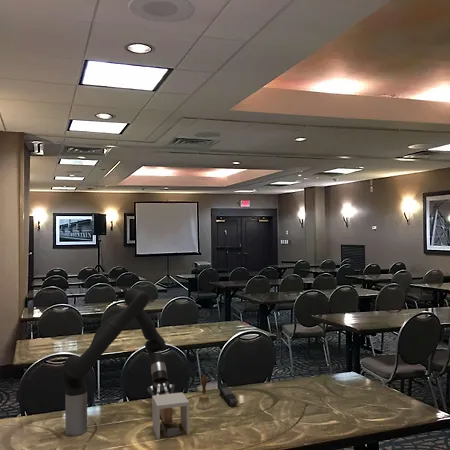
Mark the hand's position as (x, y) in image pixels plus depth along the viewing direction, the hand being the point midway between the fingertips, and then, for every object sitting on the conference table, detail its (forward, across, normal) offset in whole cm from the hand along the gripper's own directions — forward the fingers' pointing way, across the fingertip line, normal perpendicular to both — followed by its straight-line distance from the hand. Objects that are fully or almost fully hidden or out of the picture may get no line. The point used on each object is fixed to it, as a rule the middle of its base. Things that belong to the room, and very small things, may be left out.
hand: (163, 405), depth 228 cm
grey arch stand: (+15, 0, -7) cm, 17 cm away
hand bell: (-2, +22, +10) cm, 25 cm away
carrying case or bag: (-13, +10, +22) cm, 27 cm away
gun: (-5, +36, +13) cm, 39 cm away
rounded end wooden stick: (+6, 0, 0) cm, 6 cm away
